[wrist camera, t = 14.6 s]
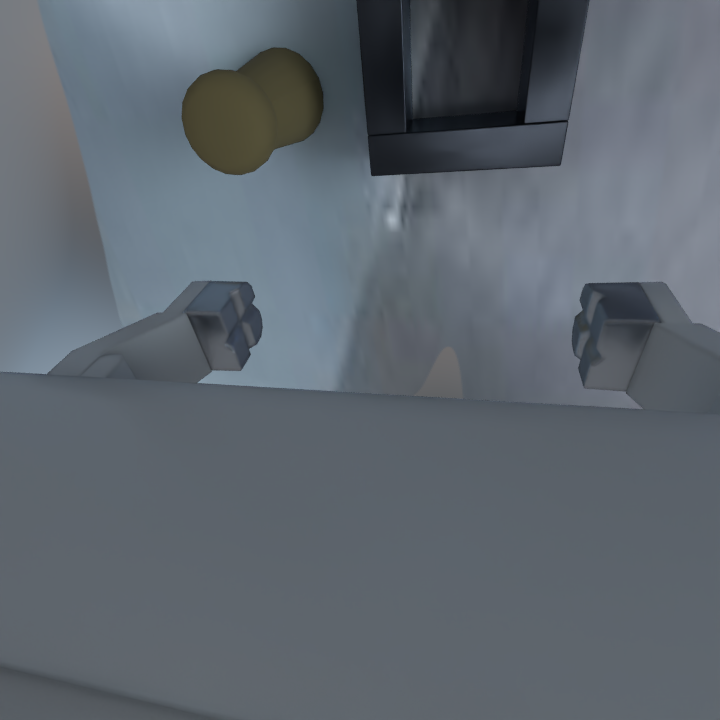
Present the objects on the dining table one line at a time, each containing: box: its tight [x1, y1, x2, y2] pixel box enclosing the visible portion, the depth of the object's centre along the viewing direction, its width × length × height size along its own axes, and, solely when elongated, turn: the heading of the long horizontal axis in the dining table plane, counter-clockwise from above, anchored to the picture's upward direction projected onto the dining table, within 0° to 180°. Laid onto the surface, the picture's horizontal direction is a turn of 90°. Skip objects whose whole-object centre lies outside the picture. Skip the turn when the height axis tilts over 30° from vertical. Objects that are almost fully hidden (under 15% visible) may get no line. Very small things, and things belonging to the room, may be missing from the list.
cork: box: [182, 48, 323, 175], centre depth 27 cm, size 6×6×11 cm
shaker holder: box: [356, 0, 589, 176], centre depth 26 cm, size 12×12×4 cm
